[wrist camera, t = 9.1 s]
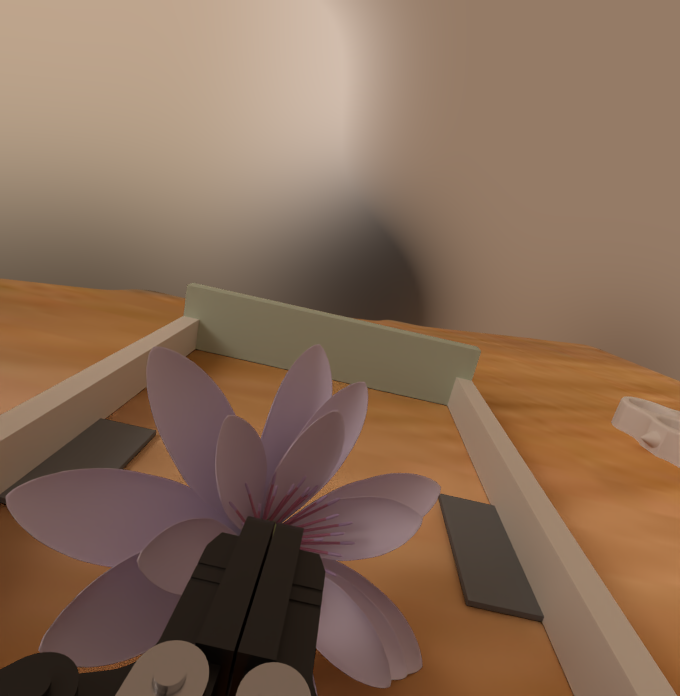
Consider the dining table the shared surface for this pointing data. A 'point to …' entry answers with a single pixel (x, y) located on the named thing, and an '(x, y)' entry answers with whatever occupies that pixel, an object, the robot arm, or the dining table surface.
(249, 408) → the dining table surface
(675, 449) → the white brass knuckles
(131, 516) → the water lily
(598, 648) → the grey u-shaped frame
